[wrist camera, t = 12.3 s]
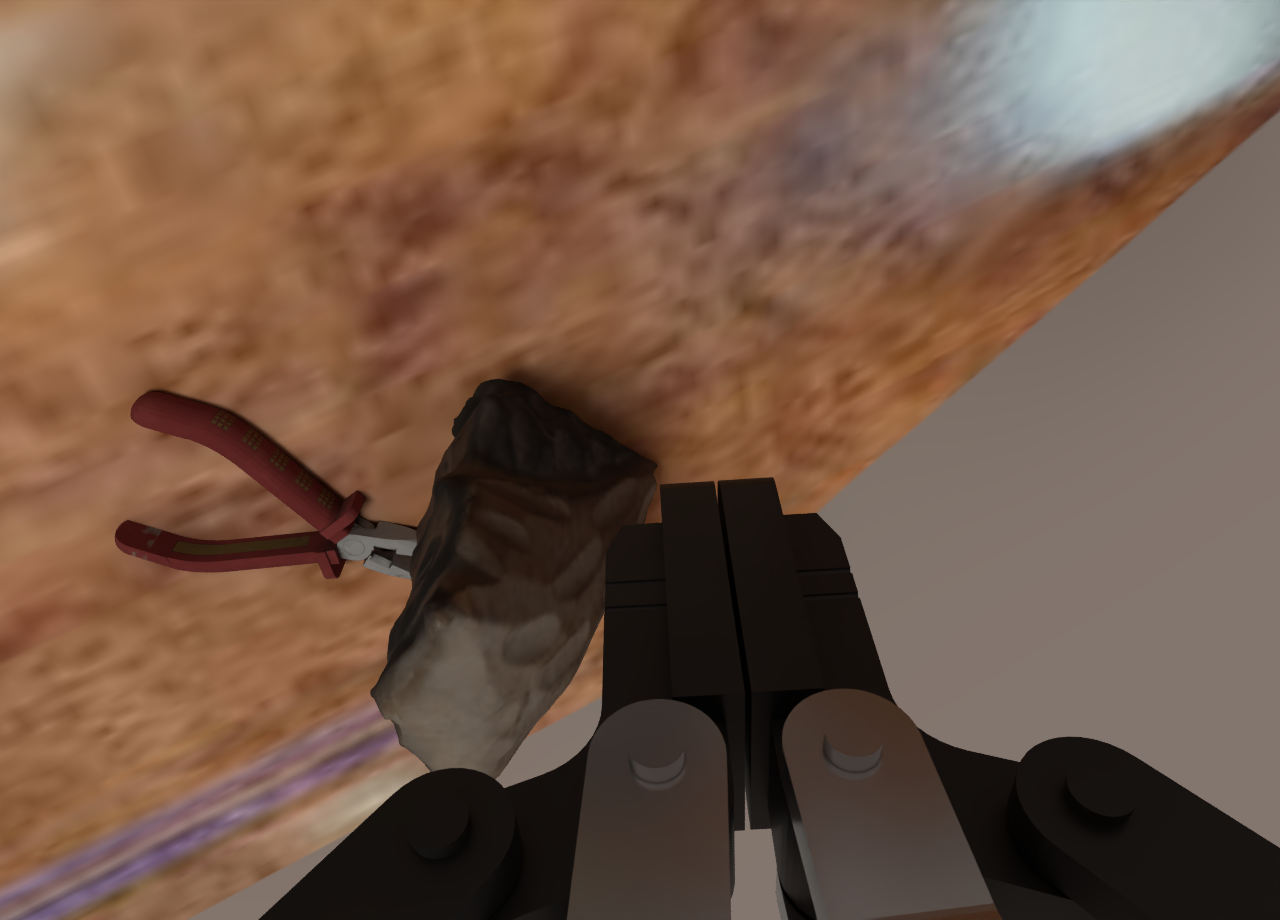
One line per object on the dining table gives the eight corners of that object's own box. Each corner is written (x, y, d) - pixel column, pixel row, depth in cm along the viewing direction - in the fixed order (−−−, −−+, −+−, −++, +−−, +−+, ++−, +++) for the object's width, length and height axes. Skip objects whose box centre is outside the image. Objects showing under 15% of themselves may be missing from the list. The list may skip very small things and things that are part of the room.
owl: (515, 573, 58) (478, 858, 41) (366, 452, 52) (255, 726, 36) (665, 471, 54) (691, 742, 37) (521, 327, 48) (475, 572, 31)
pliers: (448, 620, 61) (441, 650, 58) (124, 530, 55) (103, 558, 53) (503, 490, 55) (499, 517, 52) (146, 375, 49) (124, 400, 47)
